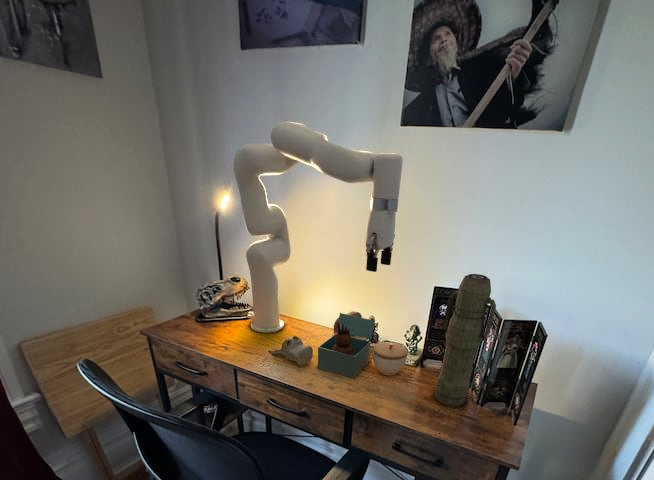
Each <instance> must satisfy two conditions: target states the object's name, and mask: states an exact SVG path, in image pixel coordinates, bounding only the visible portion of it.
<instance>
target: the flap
mask: <svg viewBox="0 0 654 480" xmlns="http://www.w3.org/2000/svg"><path fill="white" fill-rule="evenodd" d="M338 318H339V320H338V322H339V325H340V329H341V328H342V324H344V330H345V327H347V330H348V329H349V332H350V335H352V336H353V337H357V338H361V339H365V340H369V341H371V340H372V338H373V334H374V328H375V324H376V320H374V319H369V318H366V317H365V318H364V317H362V318H361V317H356V316H352V315H347V313H342V312H340V313H339V316H338ZM337 328H338V325H337Z"/></svg>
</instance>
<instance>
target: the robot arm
mask: <svg viewBox="0 0 654 480" xmlns="http://www.w3.org/2000/svg"><path fill="white" fill-rule="evenodd" d="M270 141H271V143H262V142H261V143H260V142H250V143H247V144H246V143H245V144H244V145H242V146H241V147H239V148H238V150H236V153H235V156H234V158H233V173H234V177H235V181H236V185H237V187H238V191H239V196H240V197H239V198H240V203H241V208H242V215H243V221H244V225H245V229H246V231H247V233H248V234H249V235H250V236H252V237H256V238H258V237H264V236H266V238H265V239H261V240H256V241H254V242H252V243H251V244H249V246H248V247H247V249H246V253H245V257H246V262H247V265H248V269H249V274H250V283H251V294H252V295H251V296H252V308H253V311H250V310H249V311H248V312H247V315H246V318H247V319H249V320H251V323H250V328H251V329H252V330H253V331H255V332H257V333H264V334H267V333H275V332H279V331H281V330H282V329H283V328H284V326H285V323H284V321H283V320H281V318H280V298H279V297H280V295H279V294H280V293H279V281H278V276H277V274H276V271H275V269H274V267H277V266H280V265H283V264H285V263H287V262H288V261H289V259H290V257H291V251H292V249H291V242H290V234H289V225H288V219H287V216H286V213H285V212H284V210H283V209H282V208H281V207H280V206H278V205H277V204H273V203H268V196H267V191H266V187H265V185H264V183H263V181H262V179H261V178H260V177H261V176H278V175H282V174H285V173H287V172H288V171H289V170H291V169H292V168H293V167H294V166H296V165H298V164H299V163H303V164H305V165H307V166H311V167H313V168H314V169H316V170H317V171H319V172H320V173H322V174H324V175H326V176H328V177H331V178H333V179H336V180H338V181H342V182H344V183H347V184H359V183H361V184H364V183H371V184H372V185H371V197H370V199H371V200H370V211H369V216H368V222H367V228H366V234H365V235H366V237H365V252H366V255H365V256H366V267H365V270H366V271H368V272H373V273H376V272H377V271H378V261H379V258H378V254H379V252H381V253H380V264H381V265H385V266H391V264H392V255H393V254H392V253H393V248H394V247H393V246H394V244H395V243H394V242H395V238H396V234H395V233H396V214H397V213H398V208H399V198H400V189H401V181H402V174H403V173H402V172H403V163H404V162H403V157H402V155H401V154H400V153H392V152H391V153H390V152H379V153H377V152H373V151H368V150H356V149H349V148H346V147H343V146H341V145H338V144H335V143H333V142H331V141H329V140H328V137H327V135H325V134H324V133H322V132H319V131H316V130H313V129H311V128H310V127H309V126H308V125H306V124H304V123H301V122H294V121H287V120H283V121H280V122H279V121H278V123H276V124H275V125H274V126H273V127H272V129H271V132H270ZM380 250H381V251H380Z"/></svg>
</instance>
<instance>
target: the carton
mask: <svg viewBox="0 0 654 480" xmlns="http://www.w3.org/2000/svg"><path fill="white" fill-rule="evenodd" d="M336 335H337V333H336V334H334V333H333V335H332V336H331V337H329V338H327V340H324V342H322V344H320V345H319V346H318V347H317V369H321V370H323V371H328V372H332V373H335V374H339V375H342V376H345V377H349V378H352V379H354V378H355V377H356V376H357V375H358V374H359V373H360V372H361V371H362V370H363V369H364V368H365V366H366V365H367V364H368V363H369V362H370V358H371V346H372V341H371V340H368V339H364V338H360V337H356V336H351V343H350V345H351V346H352V347H353V350H354V353H353V356H352V355H348V354H344V353H340V352H336V351H333V350H332V348H333V346H334V345H335V344H336V341H335V337H336Z"/></svg>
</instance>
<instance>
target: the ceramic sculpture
mask: <svg viewBox="0 0 654 480" xmlns="http://www.w3.org/2000/svg"><path fill="white" fill-rule="evenodd" d="M267 352H268V353H269V354H270V355H271V356H273V357H274V358H276V359H285V360H290V361H294V362H296V363H297V364H298V366H300V367H301V366H307V365H308V364H309V363H310V362H311V361H312V360H313V356H314V349H313V346H312V345H309V344H308V345H307V344H305V343H304V342H303V340H302V339H301V338H300V337H298V336H295V335H294V336H292V337H291V336H290V337H288V338H285V339H284V340H283V341H282V342H281V347H280V348H279V349H278V348H277V349H274V350H268V351H267Z"/></svg>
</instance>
